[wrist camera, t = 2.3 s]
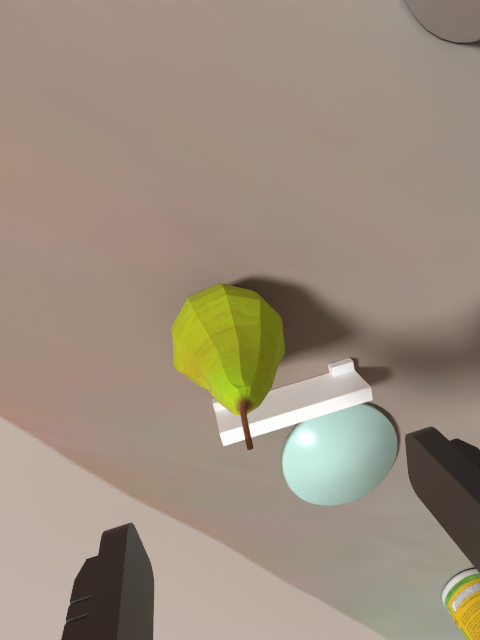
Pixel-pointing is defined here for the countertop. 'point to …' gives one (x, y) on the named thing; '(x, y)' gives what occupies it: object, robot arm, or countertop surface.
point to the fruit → (229, 347)
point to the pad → (339, 455)
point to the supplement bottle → (464, 602)
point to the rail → (298, 402)
